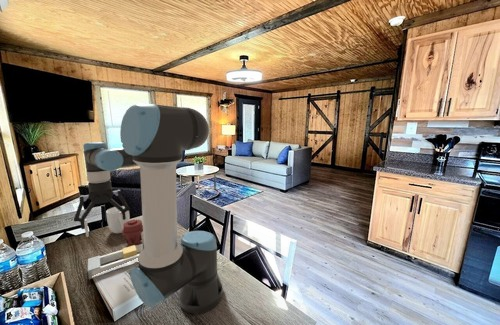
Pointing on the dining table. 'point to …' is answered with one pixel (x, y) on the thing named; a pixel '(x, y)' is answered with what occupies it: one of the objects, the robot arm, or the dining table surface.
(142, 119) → the robot arm
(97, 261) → the white slotted console
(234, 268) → the dining table surface
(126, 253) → the block
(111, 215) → the mug
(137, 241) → the mechanical component
